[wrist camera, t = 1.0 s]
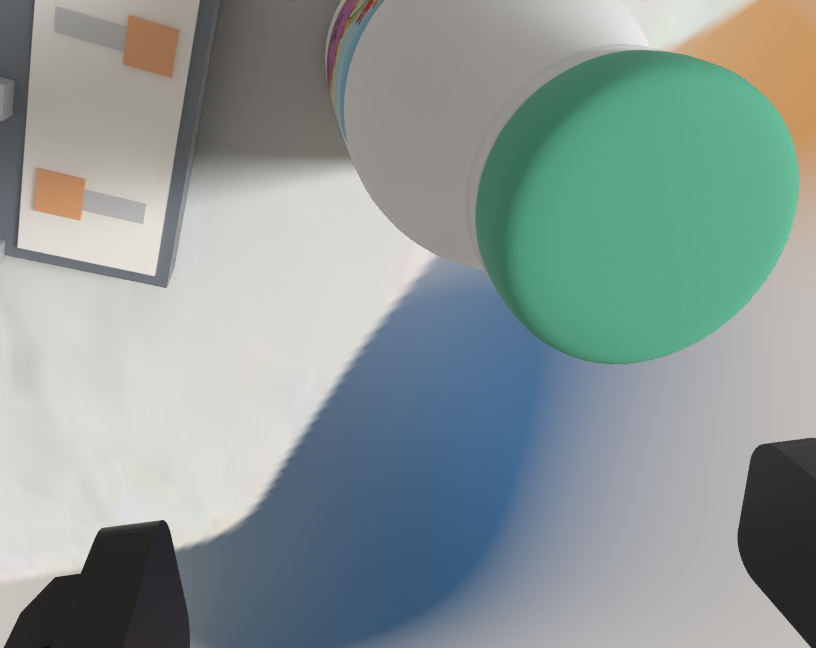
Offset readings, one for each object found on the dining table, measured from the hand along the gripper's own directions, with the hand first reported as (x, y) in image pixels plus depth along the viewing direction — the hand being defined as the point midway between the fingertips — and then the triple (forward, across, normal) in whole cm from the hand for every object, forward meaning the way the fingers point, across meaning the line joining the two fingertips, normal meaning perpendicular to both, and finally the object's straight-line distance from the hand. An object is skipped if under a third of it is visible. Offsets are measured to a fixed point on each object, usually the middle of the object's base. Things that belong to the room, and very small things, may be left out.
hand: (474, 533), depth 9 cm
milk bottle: (+22, -3, -6) cm, 22 cm away
